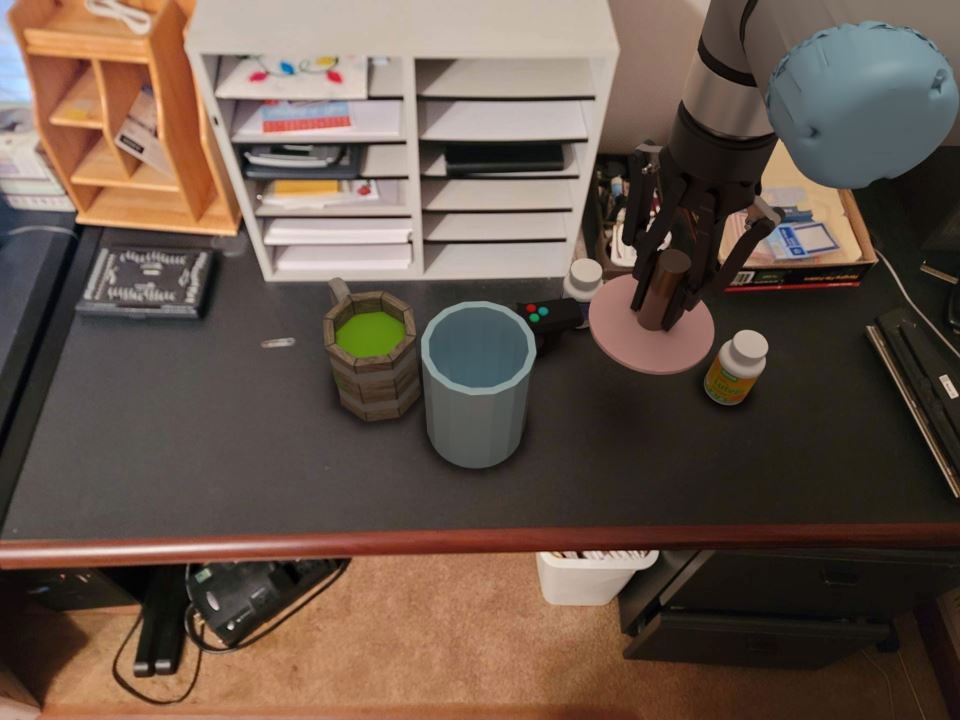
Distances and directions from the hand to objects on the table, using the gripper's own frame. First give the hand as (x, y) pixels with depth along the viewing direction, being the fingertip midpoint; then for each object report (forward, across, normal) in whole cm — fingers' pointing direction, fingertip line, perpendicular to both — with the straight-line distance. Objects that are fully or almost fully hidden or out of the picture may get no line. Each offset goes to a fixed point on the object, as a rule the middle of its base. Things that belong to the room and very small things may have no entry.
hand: (656, 311), depth 69 cm
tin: (+20, +12, +13) cm, 27 cm away
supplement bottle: (+20, -8, -12) cm, 25 cm away
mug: (+20, +27, +16) cm, 37 cm away
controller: (+20, +14, 0) cm, 24 cm away
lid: (+1, 0, 0) cm, 2 cm away
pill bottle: (+20, +13, -9) cm, 26 cm away
